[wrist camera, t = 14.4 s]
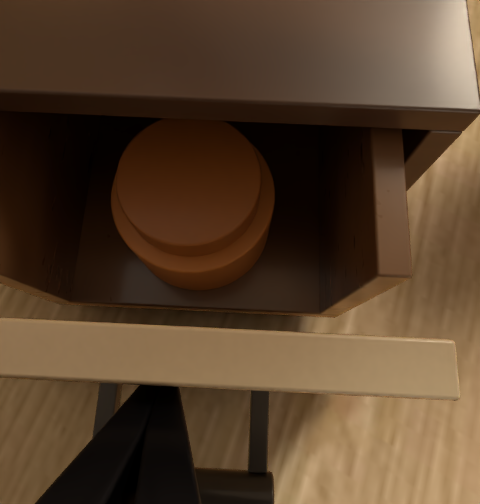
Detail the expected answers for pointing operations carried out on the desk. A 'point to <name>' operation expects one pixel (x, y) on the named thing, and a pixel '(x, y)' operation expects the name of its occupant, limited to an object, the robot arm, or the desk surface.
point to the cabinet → (249, 63)
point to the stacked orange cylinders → (193, 201)
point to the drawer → (219, 299)
